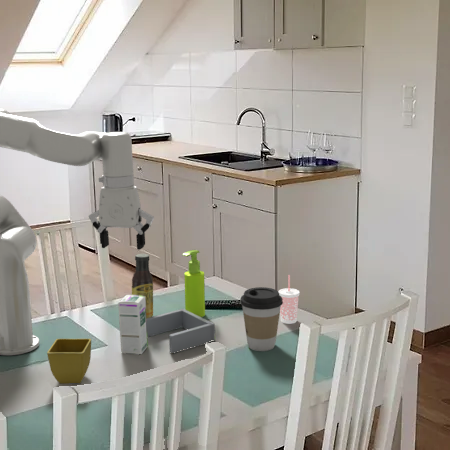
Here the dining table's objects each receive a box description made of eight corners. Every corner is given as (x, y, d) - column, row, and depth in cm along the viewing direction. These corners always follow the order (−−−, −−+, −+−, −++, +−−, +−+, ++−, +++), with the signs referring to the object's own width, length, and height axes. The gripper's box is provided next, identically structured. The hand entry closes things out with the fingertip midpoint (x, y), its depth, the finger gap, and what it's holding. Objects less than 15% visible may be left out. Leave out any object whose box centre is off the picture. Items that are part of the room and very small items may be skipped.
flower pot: (48, 387, 172) (46, 352, 170) (58, 371, 181) (56, 338, 179) (85, 388, 172) (83, 352, 170) (93, 372, 180) (91, 338, 178)
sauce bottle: (137, 325, 210) (134, 259, 205) (128, 319, 215) (125, 254, 210) (157, 321, 213) (155, 256, 208) (148, 315, 218) (146, 251, 214)
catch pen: (172, 354, 190) (171, 336, 189) (142, 336, 202) (141, 319, 201) (214, 341, 199) (214, 323, 197) (183, 324, 210) (183, 308, 209)
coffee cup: (240, 337, 201) (240, 285, 197) (282, 337, 200) (282, 285, 197) (239, 354, 190) (239, 299, 186) (283, 354, 189) (283, 300, 186)
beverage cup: (288, 326, 208) (288, 279, 205) (273, 320, 213) (274, 274, 210) (303, 321, 212) (304, 275, 209) (289, 315, 217) (289, 270, 213)
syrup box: (141, 355, 190) (139, 302, 187) (120, 353, 191) (117, 301, 188) (148, 346, 195) (146, 295, 192) (127, 344, 197) (125, 293, 193)
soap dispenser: (178, 316, 217) (177, 251, 212) (194, 310, 222) (193, 246, 217) (193, 320, 213) (191, 255, 209) (209, 314, 218) (208, 250, 214)
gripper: (80, 184, 182) (85, 250, 186) (146, 185, 177) (149, 253, 181) (93, 178, 189) (97, 242, 193) (156, 179, 184) (159, 245, 188)
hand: (122, 247), depth 187 cm, fingers open, 9 cm apart
